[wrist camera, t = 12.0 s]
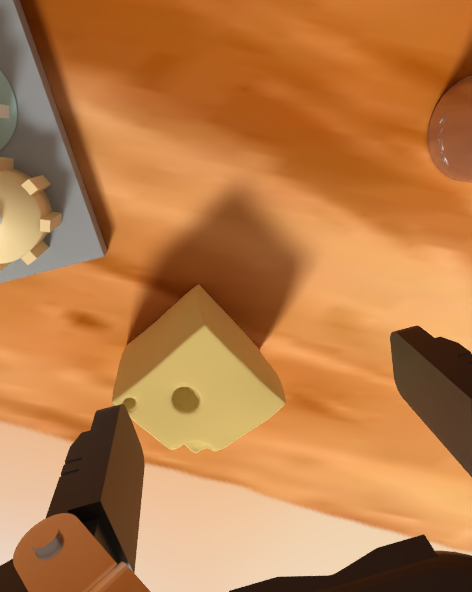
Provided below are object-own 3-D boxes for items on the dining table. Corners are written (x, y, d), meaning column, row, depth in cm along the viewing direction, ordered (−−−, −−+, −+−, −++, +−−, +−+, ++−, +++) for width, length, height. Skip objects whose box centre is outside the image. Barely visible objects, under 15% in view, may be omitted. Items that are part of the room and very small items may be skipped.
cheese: (191, 409, 45) (195, 479, 36) (117, 342, 42) (101, 402, 32) (267, 348, 44) (291, 405, 35) (198, 274, 40) (205, 315, 31)
